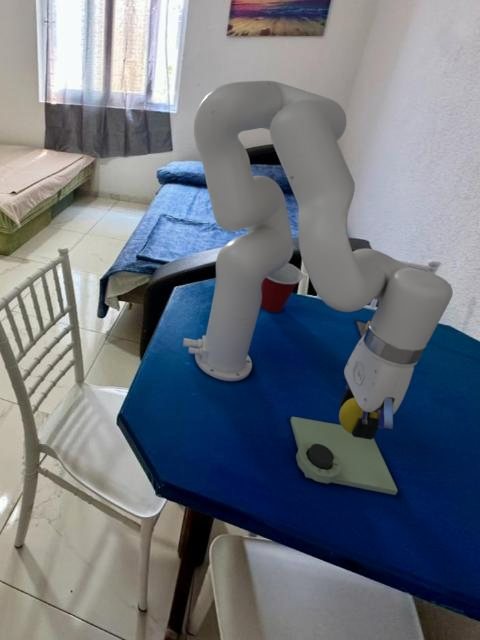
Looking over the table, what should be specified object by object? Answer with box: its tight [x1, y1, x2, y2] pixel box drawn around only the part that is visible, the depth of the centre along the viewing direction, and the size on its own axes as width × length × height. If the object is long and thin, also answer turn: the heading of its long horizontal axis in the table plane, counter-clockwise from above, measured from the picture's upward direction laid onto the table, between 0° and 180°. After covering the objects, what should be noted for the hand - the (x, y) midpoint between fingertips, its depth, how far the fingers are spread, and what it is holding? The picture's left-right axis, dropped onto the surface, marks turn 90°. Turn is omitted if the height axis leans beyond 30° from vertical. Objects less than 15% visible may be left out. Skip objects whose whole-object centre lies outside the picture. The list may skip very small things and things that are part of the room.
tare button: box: [308, 444, 334, 469], centre depth 69 cm, size 4×4×2 cm
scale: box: [290, 416, 398, 496], centre depth 72 cm, size 15×13×3 cm
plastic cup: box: [260, 262, 304, 313], centre depth 111 cm, size 11×11×12 cm
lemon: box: [338, 398, 378, 434], centre depth 72 cm, size 6×6×8 cm
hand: (355, 421), depth 73 cm, fingers closed on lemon, 5 cm apart
